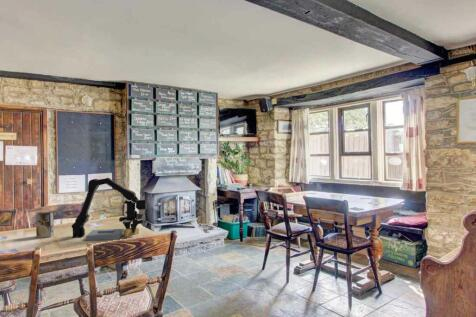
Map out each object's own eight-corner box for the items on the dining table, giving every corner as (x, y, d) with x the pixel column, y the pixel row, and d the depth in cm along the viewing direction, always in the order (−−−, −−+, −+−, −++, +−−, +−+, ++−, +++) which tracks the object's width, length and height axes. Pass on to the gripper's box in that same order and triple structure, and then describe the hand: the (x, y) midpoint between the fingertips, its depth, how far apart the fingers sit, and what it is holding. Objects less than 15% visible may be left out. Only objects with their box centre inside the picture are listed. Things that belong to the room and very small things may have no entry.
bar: (126, 236, 214) (126, 230, 214) (123, 235, 217) (123, 229, 217) (138, 233, 221) (138, 227, 221) (135, 232, 224) (135, 227, 224)
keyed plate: (86, 240, 204) (86, 235, 204) (92, 234, 220) (92, 230, 219) (119, 238, 208) (119, 234, 208) (123, 232, 223) (123, 228, 223)
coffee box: (54, 234, 219) (54, 211, 218) (51, 237, 212) (50, 213, 212) (39, 235, 217) (39, 212, 217) (35, 238, 211) (35, 213, 210)
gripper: (149, 209, 220) (149, 232, 220) (131, 207, 230) (132, 228, 231) (136, 211, 211) (136, 235, 211) (118, 209, 221) (118, 231, 221)
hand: (131, 232), depth 219 cm, fingers closed on bar, 5 cm apart
